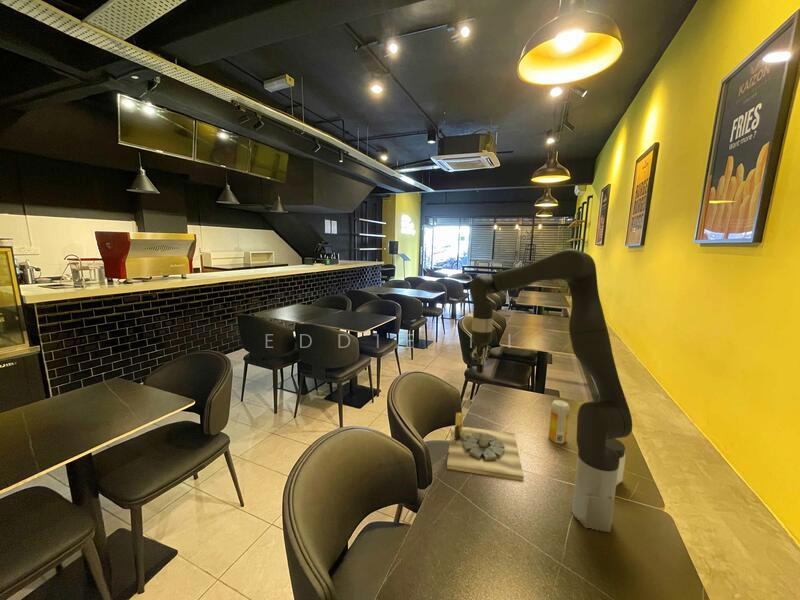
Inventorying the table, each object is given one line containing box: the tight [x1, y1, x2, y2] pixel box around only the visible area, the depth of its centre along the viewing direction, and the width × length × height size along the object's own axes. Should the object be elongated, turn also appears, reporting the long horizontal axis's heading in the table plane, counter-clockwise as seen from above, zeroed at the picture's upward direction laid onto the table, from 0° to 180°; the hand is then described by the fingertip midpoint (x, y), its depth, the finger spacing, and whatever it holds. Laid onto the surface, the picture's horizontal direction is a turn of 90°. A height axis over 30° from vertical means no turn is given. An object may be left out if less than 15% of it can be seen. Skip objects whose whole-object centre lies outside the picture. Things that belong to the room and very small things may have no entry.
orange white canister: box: [548, 399, 571, 445], centre depth 120 cm, size 6×6×15 cm
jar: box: [606, 438, 627, 486], centre depth 101 cm, size 9×8×12 cm
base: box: [446, 425, 525, 482], centre depth 113 cm, size 24×24×6 cm
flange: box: [454, 411, 505, 460], centre depth 114 cm, size 18×14×9 cm
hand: (479, 372), depth 122 cm, fingers closed
